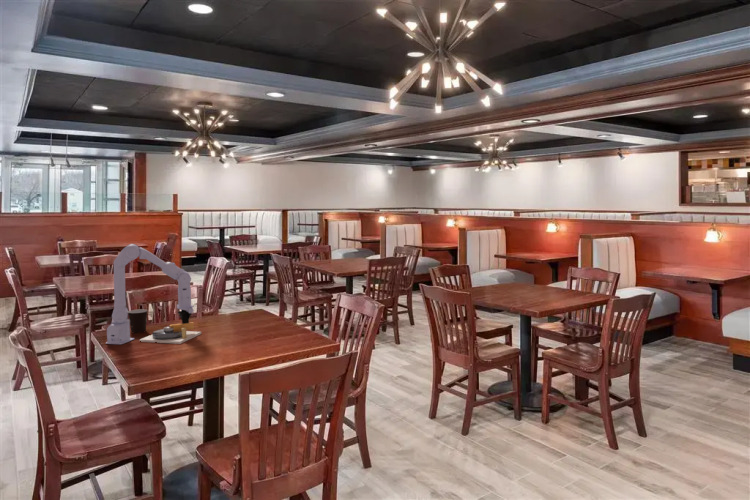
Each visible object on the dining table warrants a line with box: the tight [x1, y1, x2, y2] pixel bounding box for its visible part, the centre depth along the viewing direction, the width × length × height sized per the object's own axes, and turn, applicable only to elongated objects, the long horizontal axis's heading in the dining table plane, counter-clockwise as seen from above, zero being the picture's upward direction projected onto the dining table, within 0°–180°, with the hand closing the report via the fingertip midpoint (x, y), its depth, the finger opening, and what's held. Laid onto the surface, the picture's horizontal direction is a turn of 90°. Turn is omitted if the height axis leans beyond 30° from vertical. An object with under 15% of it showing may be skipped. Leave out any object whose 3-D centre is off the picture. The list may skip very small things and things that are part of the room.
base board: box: [139, 328, 202, 345], centre depth 245 cm, size 18×20×6 cm
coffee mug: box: [128, 308, 148, 334], centre depth 258 cm, size 12×9×10 cm
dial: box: [151, 321, 195, 339], centre depth 245 cm, size 18×14×4 cm
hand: (185, 325), depth 249 cm, fingers closed, pressing on dial
